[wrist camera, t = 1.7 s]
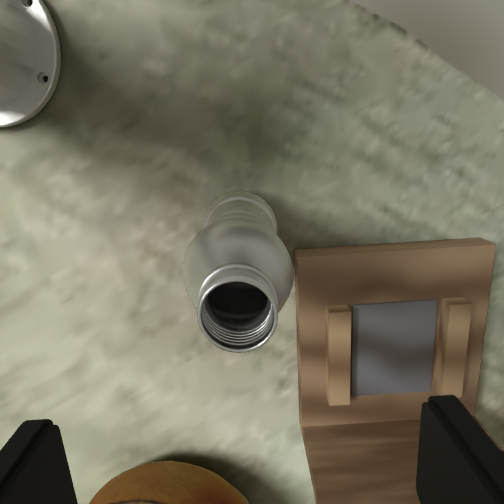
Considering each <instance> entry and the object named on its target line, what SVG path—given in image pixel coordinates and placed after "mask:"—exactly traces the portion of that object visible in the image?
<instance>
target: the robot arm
mask: <svg viewBox="0 0 504 504" xmlns="http://www.w3.org/2000/svg"><path fill="white" fill-rule="evenodd" d="M32 1H33V4H32V6H31V5H30V3H31V2H32ZM60 66H61V51H60V42H59V38H58V34H57V30H56V27H55V24H54V22H53V20H52V17H51V15H50V13H49V11H48V9H47V7H46V6H45V4H44V3H43V1H42V0H0V127H9V126H14V125H18V124H20V123H22V122H25V121H27V120H29V119H31V118H32V117H33V116H35V115H36V114H37V113H38V112H40V111H41V110H42V109H43V107H44V106H45V105H46V104H47V103H48V101H49V100H50V98H51V96H52V94H53V92H54V90H55V89H56V86H57V82H58V78H59V75H60ZM47 76H48V81H47V82H46V81H45V78H46V77H47ZM416 491H417V495H418V499H419V501H420V503H421V504H504V451H502V450H500V449H499V448H498V447H497V445H496V444H495V443H494V442H493V441H492V439H491V438H490V437H489V436H488V435H487V433H486V432H485V431H484V430H483V428H482V427H481V426H480V425H479V424H478V422H477V421H476V420H475V419H474V418H473V416H472V415H471V414H470V413H469V411H468V410H467V409H466V408H465V407H464V405H463V404H462V403H461V402H460V400H459V399H458V398H457V397H456V396H455V395H438V396H430V397H429V398H428V402H424V403H423V404H422V408H421V421H420V434H419V448H418V461H417V474H416ZM0 504H78V503H77V499H76V495H75V491H74V487H73V482H72V478H71V474H70V470H69V466H68V462H67V458H66V454H65V449H64V445H63V441H62V437H61V433H60V429H59V427H58V426H57V425H53V422H52V421H51V420H49V419H43V420H27V421H25V422H23V423H22V424H21V425H20V427H19V428H18V429H17V430H16V432H15V433H14V434H13V435H12V437H11V438H10V439H9V440H8V442H7V443H6V444H5V446H4V447H3V448H2V449H1V451H0Z"/></svg>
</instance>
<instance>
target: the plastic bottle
mask: <svg viewBox="0 0 504 504" xmlns="http://www.w3.org/2000/svg"><path fill="white" fill-rule="evenodd" d="M277 232H278V228H277V221H276V217H275V214H274V213H273V211H272V209H271V207H270V206H269V205H268V204H267V203H266V202H265V201H264V200H263V199H262V198H260V197H259V196H257V195H255V194H252V193H249V192H245V191H233V192H229V193H225V194H224V195H222V196H220V197H218V198H217V199H216V200H215V201H213V203H212V204H211V205H210V206H209V208H208V210H207V212H206V214H205V218H204V226H203V230H202V231H200V232H199V233H198V234H197V236H196V237H195V238H194V239H193V241H192V242H191V243H190V245H189V247H188V249H187V251H186V253H185V257H184V261H183V271H182V274H183V280H184V285H185V288H186V290H187V293H188V296H189V298H190V300H191V301H192V303H193V305H194V306H195V308H196V309H197V316H198V322H199V326H200V328H201V331H202V332H203V334H204V335H205V337H206V338H207V339H208V340H209V341H210V342H211V343H212V344H214V345H215V346H217V347H219V348H221V349H223V350H226V351H229V352H236V353H242V352H249V351H253V350H255V349H257V348H259V347H261V346H262V345H264V344H265V343H266V342H267V341H268V340H269V339H270V338H271V336H272V335H273V333H274V331H275V328H276V326H277V320H278V312H279V311H280V310H281V309H282V307H283V306H284V304H285V302H286V301H287V299H288V297H289V294H290V292H291V289H292V285H293V278H294V274H293V264H292V261H291V257H290V255H289V253H288V251H287V249H286V247H285V245H284V244H283V242H282V241H281V240H280V238H279V237H278V236H277Z"/></svg>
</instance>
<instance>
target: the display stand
mask: <svg viewBox="0 0 504 504" xmlns="http://www.w3.org/2000/svg"><path fill="white" fill-rule="evenodd" d="M495 247H496V244H494V243H491V242H489V241H486V240H484V239H482V238H465V239H450V240H434V241H419V242H403V243H387V244H372V245H356V246H341V247H325V248H309V249H294V254H295V288H296V322H297V355H298V389H299V421H300V426H301V431H302V436H303V440H304V445H305V450H306V455H307V460H308V465H309V470H310V475H311V480H312V485H313V490H314V495H315V500H316V504H421V503H420V501H419V499H418V495H417V491H416V474H417V461H418V448H419V434H420V421H421V408H422V404H423V403H424V402H428V398H429V397H430V396H438V395H455V396H456V397H457V398H458V399H459V400H460V402H461V403H462V404H463V405H464V407H465V408H466V409H467V410H468V411H469V413H470V414H471V415H472V416H473V418H474V419H475V420H476V421H477V422H478V424H479V425H480V426H481V427H482V428H483V430H484V431H485V432H486V433H487V435H488V436H489V437H490V438H491V439H492V441H493V442H494V443H495V444H496V445H497V447H498V448H499V449H500V450H502V448H501V447H500V446H499V445H498V444H497V442H496V441H495V440H494V439H493V438H492V436H491V435H490V434H489V433H488V432H487V430H486V429H485V428H484V427H483V426H482V424H481V423H480V422H479V421H478V420H477V418H476V417H475V416H474V413H475V405H476V397H477V389H478V381H479V373H480V365H481V357H482V350H483V342H484V334H485V326H486V318H487V310H488V302H489V295H490V287H491V279H492V271H493V263H494V255H495ZM502 451H503V450H502Z"/></svg>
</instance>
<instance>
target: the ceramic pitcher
mask: <svg viewBox="0 0 504 504" xmlns="http://www.w3.org/2000/svg"><path fill="white" fill-rule="evenodd" d="M89 504H249V502H248V501H247V499H246V498H245V497H244V496H243V495H242V494H241V493H240V492H239V491H238V490H237V489H236V488H234V487H233V486H232V485H231V484H229V483H228V482H227V481H226V480H224V479H223V478H222V477H220V476H219V475H218V474H217V473H215V472H213V471H211V470H208V469H205V468H202V467H200V466H196V465H192V464H188V463H182V462H175V461H159V462H150V463H147V464H143V465H140V466H137V467H135V468H132V469H129V470H127V471H125V472H123V473H121V474H120V475H118V476H116V477H115V478H113V479H112V480H110V481H109V482H108V483H107V484H106V485H104V486H103V487H102V488H101V489H100V490H99V491H98V492H97V494H96V495H95V496H94V497H93V499H92V500H91V502H90V503H89Z"/></svg>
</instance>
